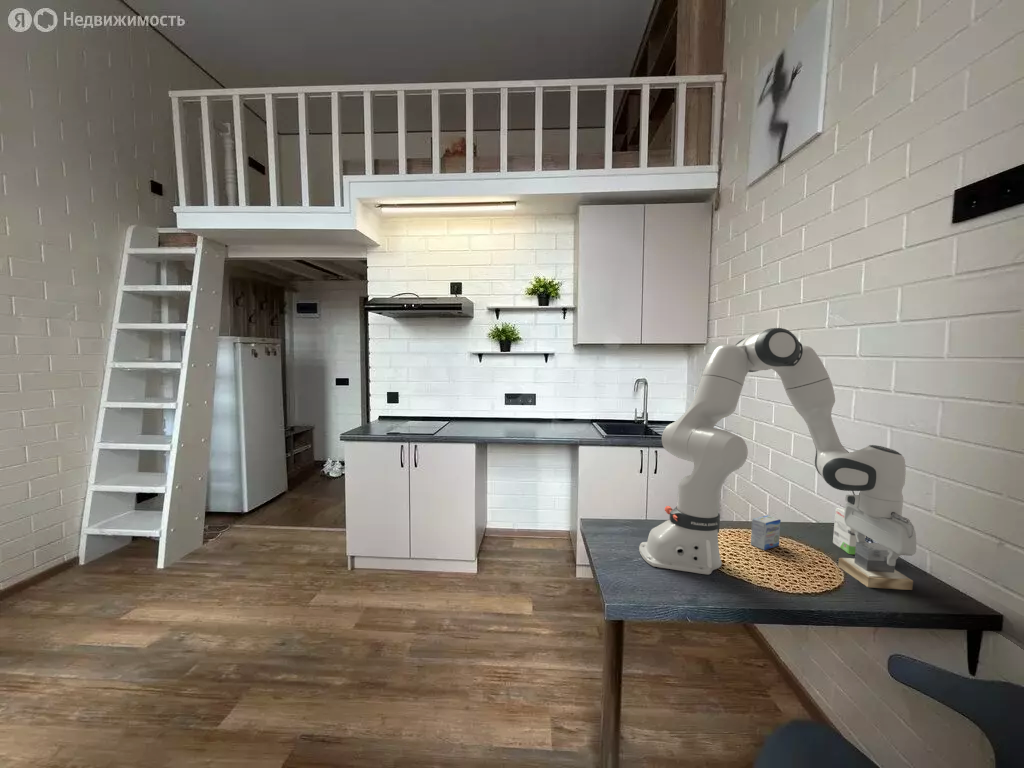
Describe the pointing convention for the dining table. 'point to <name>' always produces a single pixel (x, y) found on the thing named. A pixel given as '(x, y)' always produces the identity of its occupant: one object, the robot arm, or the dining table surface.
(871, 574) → the plinth
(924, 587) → the dining table surface
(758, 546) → the medicine box
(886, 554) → the housing
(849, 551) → the ink box
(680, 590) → the dining table surface
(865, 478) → the robot arm
